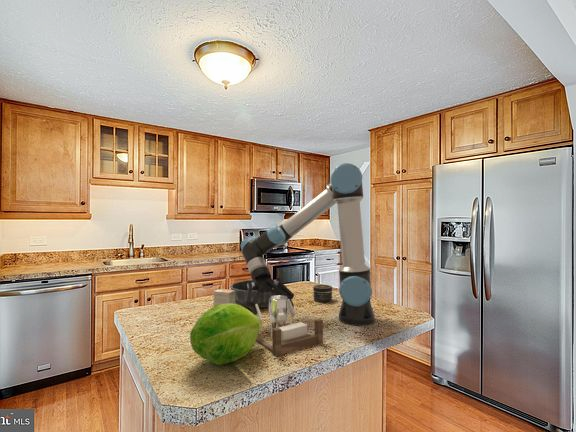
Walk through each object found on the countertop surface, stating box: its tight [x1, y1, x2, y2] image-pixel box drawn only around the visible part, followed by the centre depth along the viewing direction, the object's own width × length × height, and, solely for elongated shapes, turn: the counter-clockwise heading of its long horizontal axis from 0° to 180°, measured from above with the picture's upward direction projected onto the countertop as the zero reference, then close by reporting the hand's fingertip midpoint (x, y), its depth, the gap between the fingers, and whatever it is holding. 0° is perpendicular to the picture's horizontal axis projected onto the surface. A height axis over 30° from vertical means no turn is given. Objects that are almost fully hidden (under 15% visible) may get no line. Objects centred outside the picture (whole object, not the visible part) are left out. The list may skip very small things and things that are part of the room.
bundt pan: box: [229, 279, 276, 309], centre depth 160 cm, size 26×26×10 cm
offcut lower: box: [281, 331, 311, 343], centre depth 106 cm, size 4×12×3 cm, turn 122°
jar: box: [312, 284, 333, 304], centre depth 166 cm, size 10×10×8 cm
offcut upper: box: [279, 321, 308, 340], centre depth 106 cm, size 4×10×3 cm, turn 125°
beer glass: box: [268, 295, 289, 339], centre depth 114 cm, size 7×7×15 cm
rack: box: [256, 318, 324, 357], centre depth 111 cm, size 21×18×9 cm
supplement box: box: [213, 288, 236, 307], centre depth 133 cm, size 8×5×13 cm, turn 65°
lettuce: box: [189, 303, 263, 366], centre depth 97 cm, size 19×25×17 cm
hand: (277, 319), depth 113 cm, fingers open, 13 cm apart
